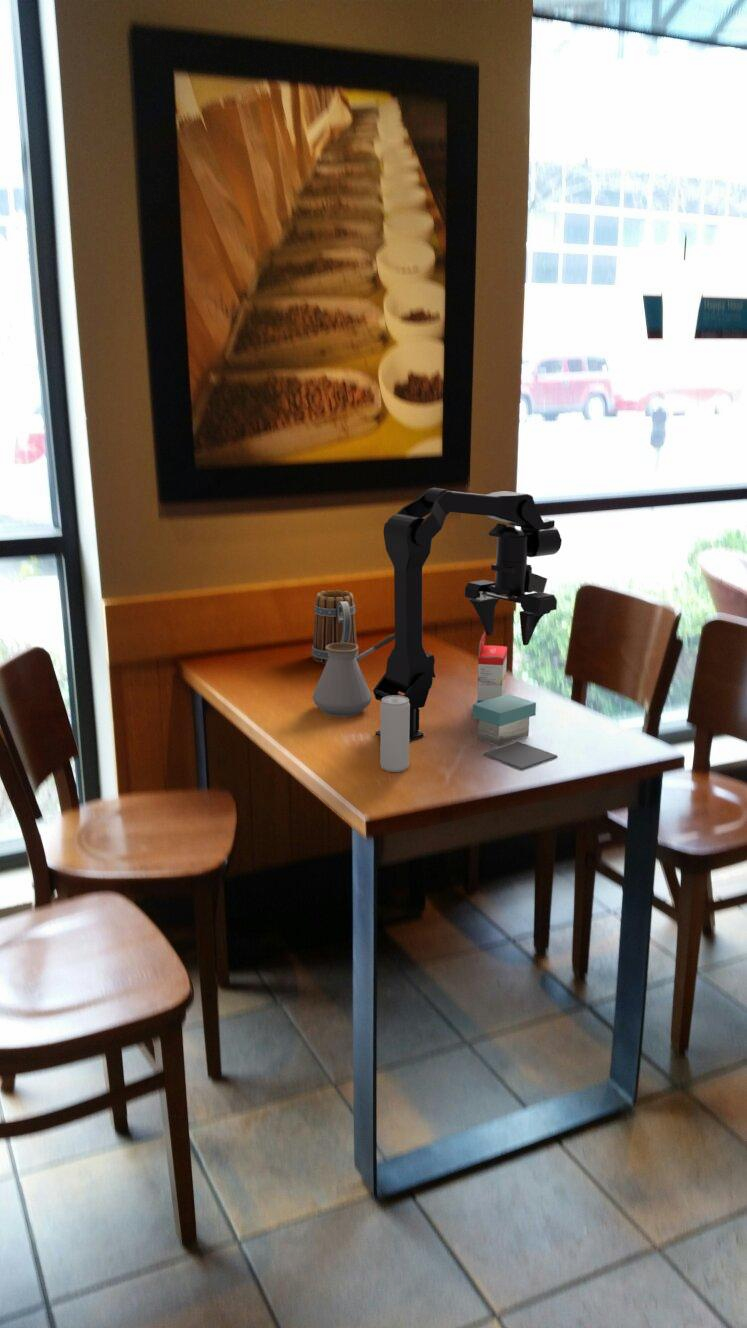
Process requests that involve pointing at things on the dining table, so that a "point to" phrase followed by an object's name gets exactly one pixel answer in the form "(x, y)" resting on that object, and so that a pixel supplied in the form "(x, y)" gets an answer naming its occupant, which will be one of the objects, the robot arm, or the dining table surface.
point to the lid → (504, 710)
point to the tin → (503, 731)
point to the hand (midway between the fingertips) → (507, 640)
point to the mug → (333, 622)
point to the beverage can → (394, 733)
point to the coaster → (520, 755)
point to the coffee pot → (344, 680)
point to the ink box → (491, 671)
